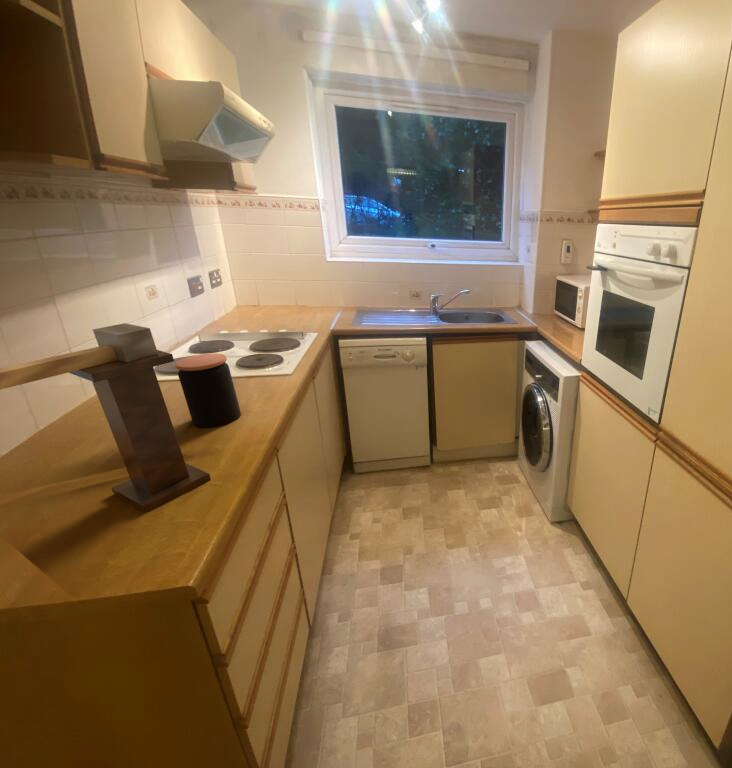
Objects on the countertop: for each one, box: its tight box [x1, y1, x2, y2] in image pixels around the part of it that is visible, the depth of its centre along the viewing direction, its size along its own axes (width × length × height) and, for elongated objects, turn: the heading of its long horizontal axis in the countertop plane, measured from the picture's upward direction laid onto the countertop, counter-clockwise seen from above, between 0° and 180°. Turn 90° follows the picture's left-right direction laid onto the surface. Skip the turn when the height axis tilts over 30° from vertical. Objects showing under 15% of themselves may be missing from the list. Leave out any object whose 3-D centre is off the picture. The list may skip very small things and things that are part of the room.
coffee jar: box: [174, 352, 242, 429], centre depth 111 cm, size 11×11×18 cm
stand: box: [68, 349, 212, 513], centre depth 84 cm, size 12×12×28 cm
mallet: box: [0, 322, 158, 391], centre depth 72 cm, size 21×8×5 cm, turn 155°
